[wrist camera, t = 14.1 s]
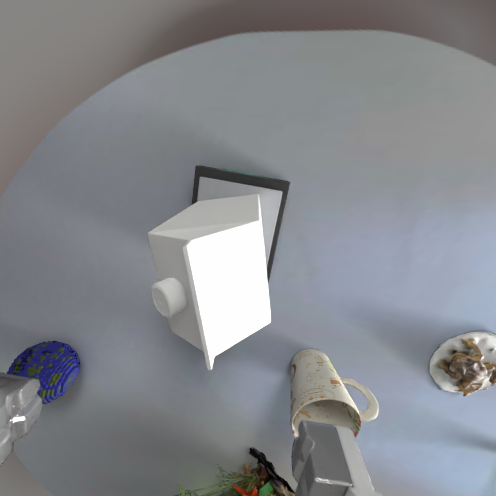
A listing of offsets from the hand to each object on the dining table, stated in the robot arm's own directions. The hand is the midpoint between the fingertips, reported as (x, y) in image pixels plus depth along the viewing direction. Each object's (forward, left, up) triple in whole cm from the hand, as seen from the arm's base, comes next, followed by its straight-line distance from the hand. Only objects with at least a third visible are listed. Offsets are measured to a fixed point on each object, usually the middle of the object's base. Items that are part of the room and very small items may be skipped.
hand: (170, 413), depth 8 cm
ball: (+26, -24, -28) cm, 45 cm away
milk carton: (0, 0, -24) cm, 24 cm away
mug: (+20, +17, -28) cm, 38 cm away
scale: (0, 0, -27) cm, 27 cm away
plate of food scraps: (+15, +38, -28) cm, 49 cm away
